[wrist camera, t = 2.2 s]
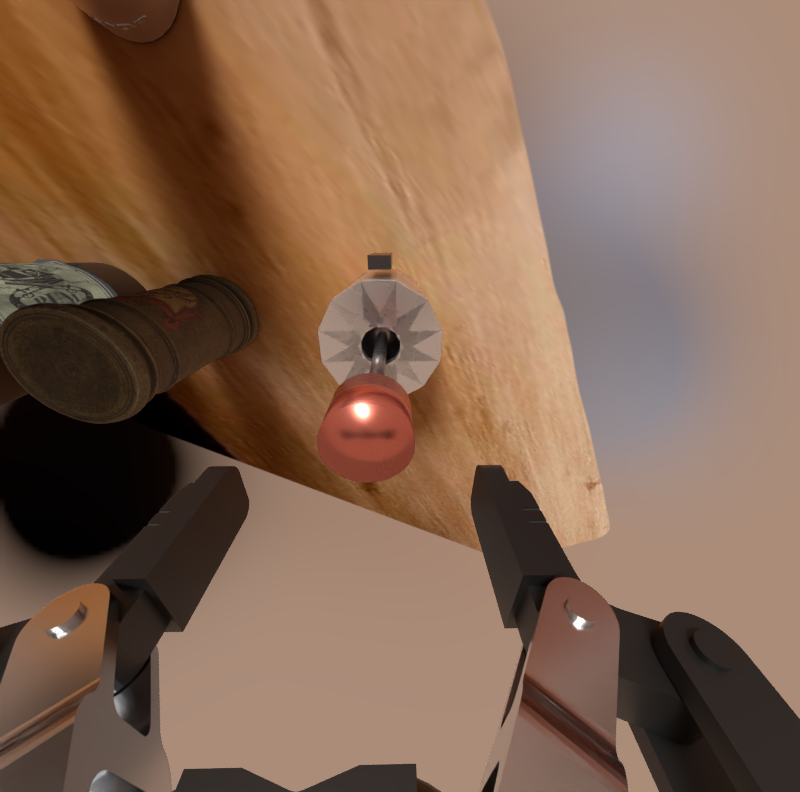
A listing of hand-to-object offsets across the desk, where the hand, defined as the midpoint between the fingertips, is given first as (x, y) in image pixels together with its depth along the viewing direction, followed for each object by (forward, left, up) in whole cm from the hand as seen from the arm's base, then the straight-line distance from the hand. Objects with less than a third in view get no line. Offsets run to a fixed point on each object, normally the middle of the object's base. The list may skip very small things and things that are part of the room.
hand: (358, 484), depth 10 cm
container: (0, -20, -28) cm, 35 cm away
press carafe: (0, 0, -28) cm, 28 cm away
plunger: (0, 0, -19) cm, 19 cm away
